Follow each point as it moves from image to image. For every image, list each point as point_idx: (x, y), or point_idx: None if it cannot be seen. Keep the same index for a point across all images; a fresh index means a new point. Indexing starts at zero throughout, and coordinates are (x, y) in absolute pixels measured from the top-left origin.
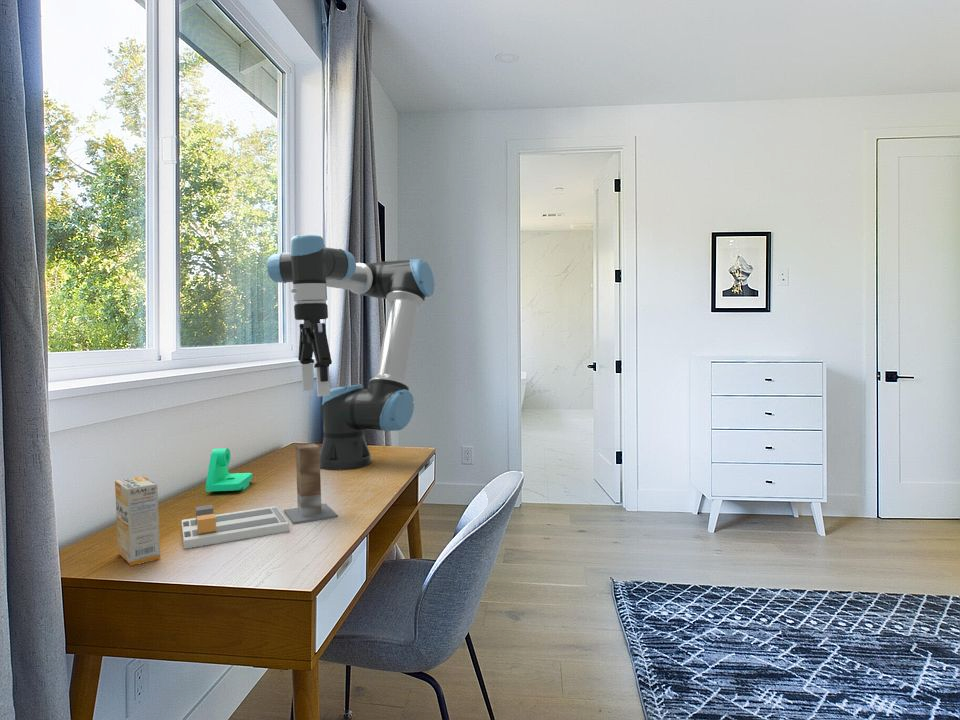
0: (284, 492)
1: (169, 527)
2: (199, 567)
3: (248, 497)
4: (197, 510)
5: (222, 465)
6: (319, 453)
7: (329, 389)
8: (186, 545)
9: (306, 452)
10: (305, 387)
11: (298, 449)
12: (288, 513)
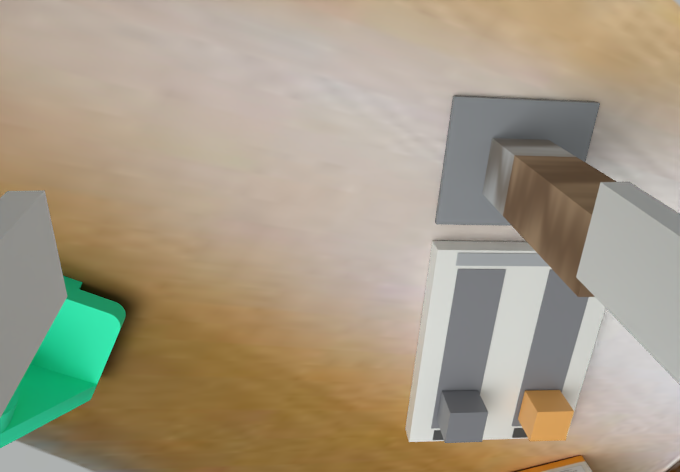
0: (194, 173)
1: (385, 447)
2: (677, 405)
3: (199, 281)
4: (480, 439)
5: None
6: None
7: (664, 208)
8: None
9: None
10: (49, 294)
11: None
12: (482, 219)
